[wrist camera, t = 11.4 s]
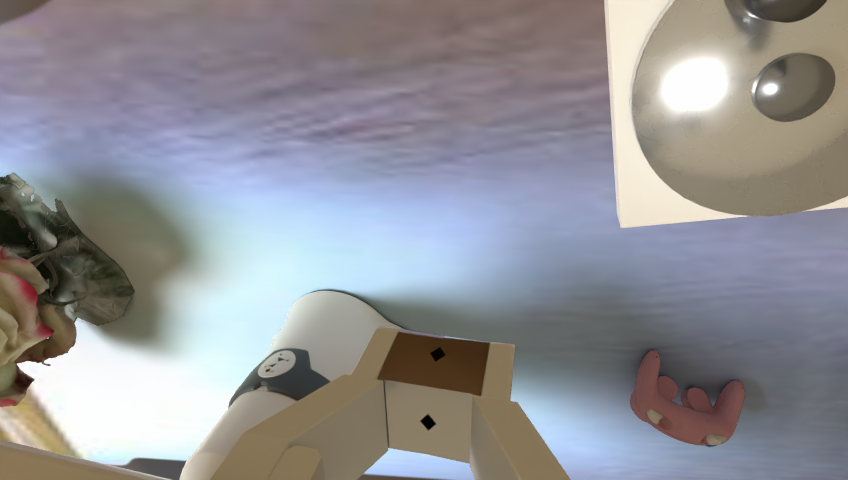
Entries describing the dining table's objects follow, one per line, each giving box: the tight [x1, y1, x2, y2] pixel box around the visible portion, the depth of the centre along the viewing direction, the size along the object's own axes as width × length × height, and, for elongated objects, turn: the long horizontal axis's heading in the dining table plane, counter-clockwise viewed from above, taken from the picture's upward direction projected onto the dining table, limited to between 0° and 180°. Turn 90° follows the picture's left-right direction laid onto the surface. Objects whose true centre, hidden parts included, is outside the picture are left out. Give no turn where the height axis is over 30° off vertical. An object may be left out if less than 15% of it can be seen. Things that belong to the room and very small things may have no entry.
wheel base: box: [604, 0, 848, 228], centre depth 32 cm, size 20×20×3 cm
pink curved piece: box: [630, 350, 745, 447], centre depth 45 cm, size 10×5×7 cm, turn 75°
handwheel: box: [629, 0, 848, 216], centre depth 28 cm, size 18×18×8 cm
